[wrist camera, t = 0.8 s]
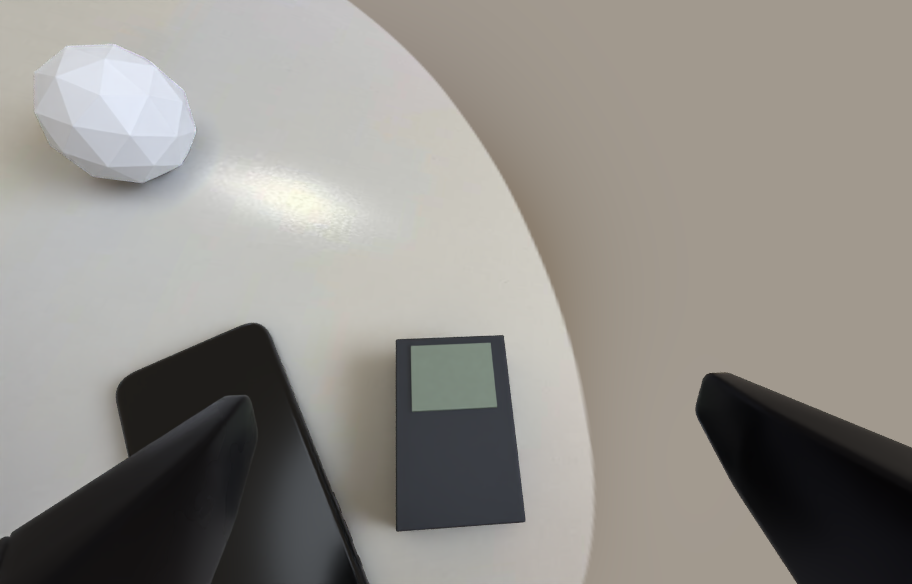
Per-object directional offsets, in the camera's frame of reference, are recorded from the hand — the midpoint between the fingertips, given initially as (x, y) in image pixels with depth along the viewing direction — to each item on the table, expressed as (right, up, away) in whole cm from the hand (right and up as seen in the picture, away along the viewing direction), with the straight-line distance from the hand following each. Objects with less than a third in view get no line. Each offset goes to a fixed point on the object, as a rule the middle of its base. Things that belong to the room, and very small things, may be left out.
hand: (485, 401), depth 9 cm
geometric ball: (-21, +11, +21) cm, 32 cm away
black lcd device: (-1, -5, +14) cm, 15 cm away
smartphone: (-11, -8, +12) cm, 18 cm away
